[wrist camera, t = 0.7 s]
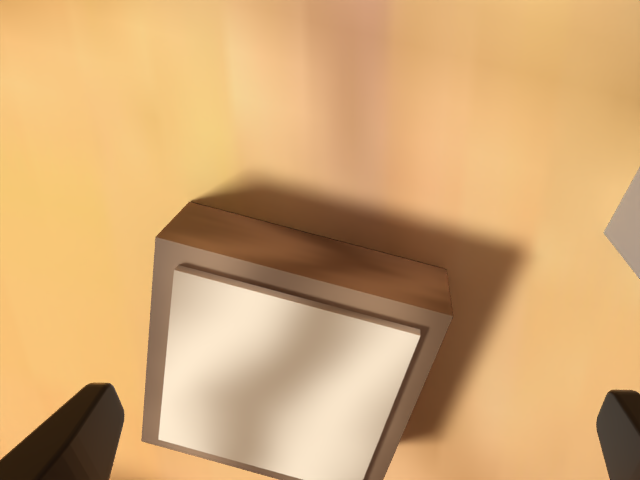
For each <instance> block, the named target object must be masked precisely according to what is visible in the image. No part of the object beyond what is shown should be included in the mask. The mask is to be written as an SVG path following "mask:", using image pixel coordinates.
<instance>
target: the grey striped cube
mask: <svg viewBox="0 0 640 480" xmlns="http://www.w3.org/2000/svg"><path fill="white" fill-rule="evenodd" d="M604 234H605V236H606V237H607V238H608V239H609V241H610V242H611V243H612V244H613V246H614V247H615V248H616V250H617V251H618V252H619V253H620V255H621V256H622V257H623V258H624V260H625V261H626V262H627V264H628V265H629V266H630V267H631V269H632V270H633V271H634V272H635V274H636V275H637V276H638V278H639V279H640V168H639V169H638V171H637V173H636V175H635V177H634V178H633V180H632V182H631V184H630V186H629V187H628V189H627V191H626V193H625V195H624V197H623V198H622V200H621V202H620V204H619V206H618V207H617V209H616V211H615V213H614V215H613V216H612V218H611V220H610V222H609V224H608V225H607V227H606V229H605V231H604Z"/></svg>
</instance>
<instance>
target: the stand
mask: <svg viewBox="0 0 640 480" xmlns="http://www.w3.org/2000/svg"><path fill="white" fill-rule="evenodd" d="M452 318H453V311H452V304H451V298H450V291H449V284H448V278H447V271H446V269H443V268H439V267H435V266H432V265H428V264H424V263H420V262H416V261H413V260H409V259H405V258H401V257H397V256H394V255H390V254H386V253H382V252H378V251H375V250H371V249H367V248H363V247H359V246H356V245H352V244H348V243H344V242H340V241H337V240H333V239H329V238H325V237H321V236H318V235H314V234H310V233H306V232H303V231H299V230H295V229H291V228H287V227H284V226H280V225H276V224H272V223H268V222H265V221H261V220H257V219H253V218H249V217H246V216H242V215H238V214H234V213H230V212H227V211H223V210H219V209H215V208H211V207H208V206H204V205H200V204H196V203H192V202H189V203H188V204H187V205H186V206H185V207H184V208H183V209H182V210H181V211H180V212H179V213H178V214H177V215H176V216H175V217H174V218H173V219H172V221H171V222H170V223H169V224H168V225H167V226H166V227H165V228H164V229H163V230H162V231H161V232H160V233H159V234H158V235H157V236H156V239H155V253H154V268H153V282H152V297H151V311H150V326H149V340H148V354H147V369H146V383H145V398H144V412H143V427H142V441H143V442H146V443H150V444H153V445H157V446H161V447H164V448H168V449H171V450H175V451H179V452H182V453H186V454H189V455H193V456H197V457H200V458H204V459H207V460H211V461H215V462H218V463H222V464H225V465H229V466H233V467H236V468H240V469H243V470H247V471H251V472H254V473H258V474H261V475H265V476H269V477H272V478H276V479H279V480H383V479H384V477H385V474H386V472H387V470H388V467H389V465H390V463H391V460H392V458H393V456H394V453H395V451H396V449H397V446H398V444H399V442H400V439H401V437H402V435H403V432H404V430H405V428H406V425H407V423H408V421H409V418H410V416H411V414H412V411H413V409H414V407H415V404H416V402H417V400H418V397H419V395H420V393H421V390H422V388H423V386H424V383H425V381H426V379H427V376H428V374H429V372H430V369H431V367H432V365H433V362H434V360H435V358H436V355H437V353H438V351H439V348H440V346H441V344H442V341H443V339H444V337H445V334H446V332H447V330H448V327H449V325H450V323H451V320H452Z"/></svg>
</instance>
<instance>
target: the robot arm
mask: <svg viewBox="0 0 640 480" xmlns="http://www.w3.org/2000/svg"><path fill="white" fill-rule="evenodd" d="M123 423H124V409H123V407H122V404H121V402H120V400H119V398H118V395H117V393H116V391H115V388H114V387H113V385H111V384H110V383H90V384H88V385H86V386H85V387H83V388H82V389H81V390H80V391H79V392H78V393H77V394H75V395H74V396H73V397H72V398H71V399H70V400H69V401H67V402H66V403H65V404H64V405H63V406H62V407H61V408H59V409H58V410H57V411H56V412H55V413H54V414H52V415H51V416H50V417H49V418H48V419H47V420H46V421H44V422H43V423H42V424H41V425H40V426H39V427H38V428H36V429H35V430H34V431H33V432H32V433H31V434H30V435H28V436H27V437H26V438H25V439H24V440H23V441H22V442H20V443H19V444H18V445H17V446H16V447H15V448H13V449H12V450H11V451H10V452H9V453H8V454H7V455H5V456H4V457H3V458H2V459H1V460H0V480H109V478H110V474H111V470H112V466H113V462H114V458H115V454H116V450H117V447H118V443H119V439H120V435H121V431H122V427H123ZM596 427H597V433H598V437H599V440H600V444H601V448H602V452H603V455H604V459H605V463H606V467H607V471H608V474H609V478H610V480H640V394H639V393H638V392H636V391H633V390H611V391H609V392H608V393H607V395H606V397H605V400H604V402H603V405H602V407H601V409H600V412H599V414H598V417H597V422H596Z"/></svg>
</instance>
